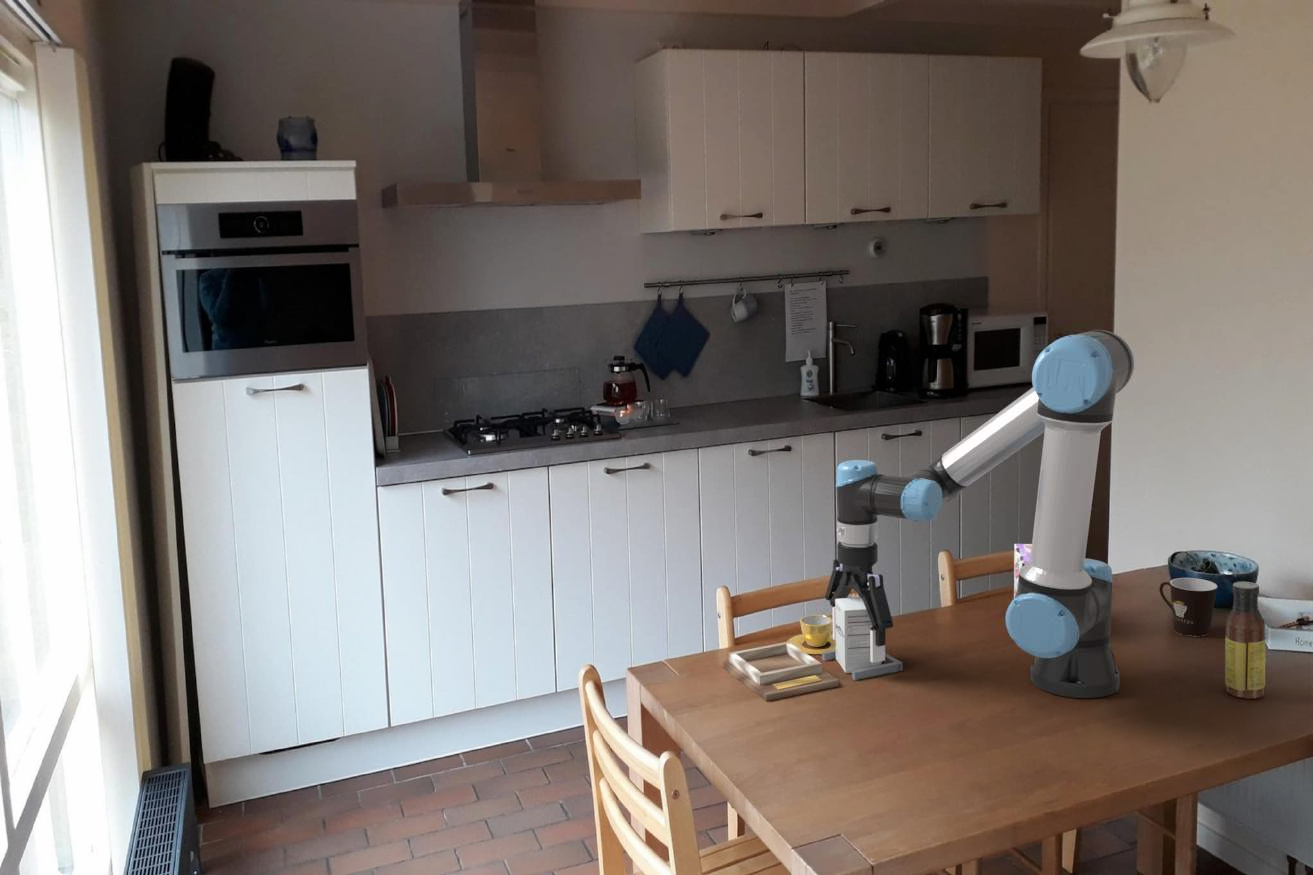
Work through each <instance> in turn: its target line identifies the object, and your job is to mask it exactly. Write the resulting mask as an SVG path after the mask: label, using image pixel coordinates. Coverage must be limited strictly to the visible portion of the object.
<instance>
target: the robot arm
mask: <svg viewBox="0 0 1313 875" xmlns="http://www.w3.org/2000/svg"><path fill="white" fill-rule="evenodd" d="M1134 359H1135V358H1134V355H1133V352H1132V349H1131V347H1130V346H1129V344H1128V343H1127V342H1126V341H1125V340H1124V339H1123V338H1122V337H1121V336H1120V335H1118V334H1116V333H1114V332H1111V331H1108V330H1104V329H1092V330H1087V331H1083V332H1081V333H1077V334H1070V335H1066V336H1062V337H1060V338H1058V339H1056V340H1054V341H1053V342H1052V343H1050V344H1049V345H1048V346H1047V347H1045V348H1044V349H1043V350H1042V351H1041V352H1040V353H1039V354H1038V356H1037V358H1036V360H1035V363H1034V365H1033V368H1032V372H1031V383H1032V387H1031V388H1029V390H1027V391H1026V392H1025V393H1023V394H1022V395H1021V396H1019V397H1018V398H1017V399H1015V400H1014V401H1012V402H1011V403H1010V404H1008V405H1007V406H1006V407H1005V408H1003V409H1002V410H1000V411H999V412H998V413H996V414H995V415H994V416H993V417H991V418H990V419H989V420H988V419H987V421H986V422H985V423H983V424H982V425H980V426H979V427H978V428H976V429H975V430H974V431H972V432H971V433H970V434H968V435H967V436H965V437H964V438H963V439H961V441H959V442H957V443H956V444H954V445H953V446H952V447H951V448H949V449H948V450H947V451H946V452H944V453H943V454H942V455H940V456H939V457H937V458H936V459H934V460H933V461H932V462H930V463H929V464H927V465H926V466H925V467H923V468H921V469H919V470H916V471H914V472H912V473H909V474H907V475H904V476H898V475H896V476H895V475H885V474H882V473H880V474H879V470H878V465H877V463H876V462H874V461H871V460H867V459H866V460H865V459H852V460H846V461H843V462H840V463H839V464H838V466H837V468H836V484H835V488H836V506H837V507H836V510H837V511H836V512H837V514H836V517H837V518H836V520H837V523H836V524H837V528H836V533H837V537H836V538H837V541H838V543H837V545H836V553H837V554H836V555H837V558H836V559H833V561H832V563H833V564H832V572H831V575H830V578H829V582H828V586H827V587H826V588H827V589H826V592H825V595H824V596H825V597H824V598H825V600H826V601H829V604H830V606H831V609H832V610H831V612H832V613H831V614H832V615H831V619H832V620H833V622H832V635H833V639H834V640H836V635H835V599H840V598H849V595H850V593H851V592H852V591H854V592H856V593H857V597H861V598H862V600H863V602H864V605H865V607H866V610H867V613H868V615H869V618H870V620H871V623H872V625H873V626H872V627H871V628H870V662H872V663H874V662H879V661H884V660H885V653H886V643H887V642H886V641H887V640H886V638H887V637H886V633H887V632H886V631H887V630H886V629H891V628H893V627H894V621H893V618H892V615H891V614H892V613H891V611H890V606H889V603H888V598H887V595H886V591H885V587H884V576H883V575H882V574H881V573H880V574H874V572H873V566H874V565H876V563H877V562H878V558H879V557H878V543H877V541H878V540H879V532H878V530H879V529H878V524H879V522H878V516H883V517H889V518H890V517H891V518H898V519H903V520H904V519H905V520H909V521H914V522H919V521H920V522H921V521H923V522H925V521H926V522H932V521H934V520H936V518H937V517H938V514H940V511H941V510H942V506H943V504H945V503H948V502H949V501H952V500H953V499H955V498H956V497H957V496H958V495H960V493H961V492H962V491H964V490H965V489H966V488H967V487H968V486H971V484H973V483H974V482H976V481H977V480H978V479H980V478H981V477H983V476H984V475H985V474H987V473H988V472H990V471H991V470H992V469H994V468H995V467H997V466H998V465H999V464H1001V463H1002V462H1003V461H1005V460H1007V459H1008V458H1009V457H1011V456H1012V455H1013V454H1015V453H1017V452H1018V451H1020V450H1021V449H1022V448H1023V447H1026V446H1027V445H1028V444H1029V443H1031V442H1033V440H1035V439H1036V438H1038V437H1040V436H1041V435H1042V434H1044V435H1043V443H1042V453H1041V462H1040V470H1039V479H1038V488H1037V495H1036V496H1037V497H1036V505H1035V513H1034V514H1035V515H1034V523H1033V532H1032V533H1033V534H1032V540H1031V544H1032V548H1031V557H1030V562H1029V563H1027V564H1026V565H1024V566H1023V567H1021V568H1020V572H1019V580H1018V588H1017V596H1016V598H1015V599H1014V598H1013V599H1012V600H1011V601H1010V604H1009V605H1008V607H1007V609H1006V612H1005V627H1006V629H1007V632H1008V634H1009V637H1010V638H1011V639H1012V640H1013V641H1014V643H1015V644H1016V646H1018V647H1019V648H1020V649H1021V650H1022V651H1024V652H1026V653H1027V654H1029V655H1032V656H1033V657H1035V659H1034V660H1033V661H1032V663H1031V666H1030V680H1031V682H1032V684H1033V685H1034V686H1036V687H1038V688H1039V689H1041V690H1043V691H1045V692H1046V693H1049V694H1053V695H1057V696H1062V697H1067V698H1077V699H1095V698H1097V699H1098V698H1104V697H1106V696H1108V697H1109V696H1111V695H1113V694H1115V693H1116V692H1117V691H1118V690H1119V689H1120V671H1119V669H1118V668H1117V664H1116V663H1117V662H1116V659H1115V656H1114V652H1113V650H1112V647H1111V632H1112V631H1111V628H1112V627H1111V624H1112V602H1113V600H1112V599H1113V584H1114V580H1113V569H1112V568H1111V566H1110V565H1109V564H1108V563H1106V562H1104V561H1101V560H1097V559H1092V558H1086V553H1087V544H1088V536H1089V530H1090V529H1089V528H1090V521H1091V514H1092V513H1091V511H1092V504H1093V498H1094V495H1093V494H1094V489H1095V481H1096V474H1097V473H1096V472H1097V465H1098V458H1099V457H1098V456H1099V449H1100V441H1101V440H1100V439H1101V434H1102V433H1101V432H1102V431H1103V430H1104V429H1105V428H1106V427H1107V426H1108V425H1109V426H1110V424H1112V422H1113V417H1114V410H1115V402H1116V396H1117V394H1118V393H1120V392H1121V391H1122V390H1123V389H1124V388H1125V387H1126V386H1127V385H1128V383H1129V382H1130V381H1131V378H1132V376H1133V374H1134V373H1133V372H1134V370H1135V368H1134V367H1135V360H1134ZM877 622H878V623H877Z"/></svg>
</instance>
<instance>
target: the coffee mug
mask: <svg viewBox="0 0 1313 875" xmlns="http://www.w3.org/2000/svg"><path fill="white" fill-rule="evenodd" d="M1165 586H1168V587H1170V588H1169V590H1170V600H1171V602H1169V600H1168V599H1167V598H1166V596H1165V594H1164V590H1163V589H1164V587H1165ZM1217 590H1218V585H1217V584H1216V583H1215V582H1214V581H1210V580H1208V579H1207V580H1206V579H1202V578H1195V577H1180V578H1179V577H1178V578H1174V579H1171V580H1170V581H1164V582H1161V583H1160V585H1159V591H1158V592H1159V594H1160V596H1161V598H1162V600H1163V601H1164V603H1165V604H1166V605H1167V606H1168V607H1169V608H1170V610H1171V611H1172V621H1173V622H1172V623H1173V624H1172V625H1173V631H1174V630H1175V631H1176V632H1178V633H1181V634H1183V635H1192V636H1194V635H1195V636H1202V635H1207V634H1208V633H1209V634H1210V629H1211V625H1212V619H1213V613H1214V608H1215V601H1216V596H1217ZM1175 631H1174V632H1175ZM1176 632H1175V633H1176ZM1183 635H1182V636H1183Z"/></svg>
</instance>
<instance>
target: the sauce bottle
mask: <svg viewBox="0 0 1313 875" xmlns="http://www.w3.org/2000/svg"><path fill="white" fill-rule="evenodd" d="M1232 593H1233V604H1232V609H1231V611H1230V612H1229V614H1228V616H1227V617H1226V619H1225V636H1224V637H1225V638H1224V640H1225V641H1224V643H1225V644H1224V666H1225V667H1224V684H1225V690H1226V692H1227V693H1228V694H1229V695H1230V696H1233V697H1236V698H1242V699H1245V700H1255V699H1260V698H1262V697H1263V696H1264V695H1265V686H1266V622H1265V620H1264V618H1263V617H1262V614H1261V612H1260V610H1259V605H1258V599H1259V597H1258V596H1259V593H1260V586H1259V584H1257V583H1255V582H1250V581H1243V580H1242V581H1236V582H1234V583H1233V584H1232Z"/></svg>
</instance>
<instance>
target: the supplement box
mask: <svg viewBox="0 0 1313 875" xmlns="http://www.w3.org/2000/svg"><path fill="white" fill-rule="evenodd" d="M877 623H878V622H877ZM872 626H873V625H872V623H871V620H870V618H869V615H868V613H867V610H866V607H865V605H864V602H863V600H862V598H861V597H859V596H857V597H847V598H840V599H835V635H836V659H835V660H836V661H837V662H838V664H839V665H840V666H841V668H842V669H843V671H844V673H845V674H852V671H854V670H859V669H864V668H869V667H874V666H878V665H883V664H882V663H883V662H882V661H879V662H874V663H872V662H870V628H871V627H872Z"/></svg>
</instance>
